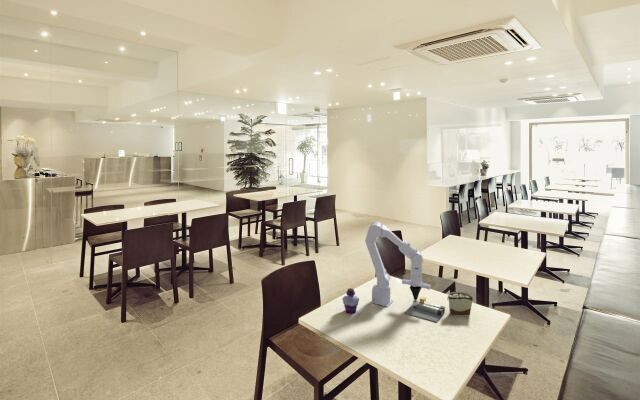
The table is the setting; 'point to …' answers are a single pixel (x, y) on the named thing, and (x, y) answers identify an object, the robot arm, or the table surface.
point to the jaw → (427, 308)
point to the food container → (460, 303)
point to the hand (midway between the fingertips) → (415, 299)
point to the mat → (422, 314)
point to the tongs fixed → (434, 305)
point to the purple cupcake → (350, 301)
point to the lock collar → (423, 300)
